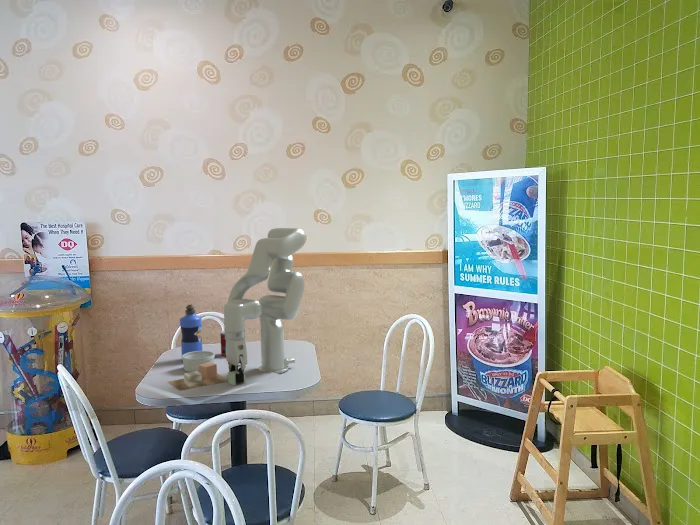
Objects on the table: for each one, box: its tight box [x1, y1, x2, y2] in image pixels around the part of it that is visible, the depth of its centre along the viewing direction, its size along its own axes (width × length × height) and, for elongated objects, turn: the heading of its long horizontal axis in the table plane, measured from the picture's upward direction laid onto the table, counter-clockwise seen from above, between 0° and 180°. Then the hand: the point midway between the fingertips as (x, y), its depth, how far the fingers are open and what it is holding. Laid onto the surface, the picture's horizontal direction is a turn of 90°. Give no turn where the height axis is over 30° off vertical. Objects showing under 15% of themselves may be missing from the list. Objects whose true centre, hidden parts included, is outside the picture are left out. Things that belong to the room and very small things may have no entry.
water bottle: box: [179, 304, 203, 362], centre depth 267 cm, size 9×9×25 cm
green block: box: [227, 371, 247, 386], centre depth 230 cm, size 5×5×5 cm
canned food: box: [219, 329, 226, 357], centre depth 276 cm, size 8×8×11 cm
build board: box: [167, 371, 228, 391], centre depth 232 cm, size 20×14×5 cm
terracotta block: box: [198, 362, 218, 380], centre depth 237 cm, size 5×5×5 cm
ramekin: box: [181, 350, 215, 373], centre depth 251 cm, size 13×13×7 cm
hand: (236, 380), depth 230 cm, fingers closed on green block, 5 cm apart
